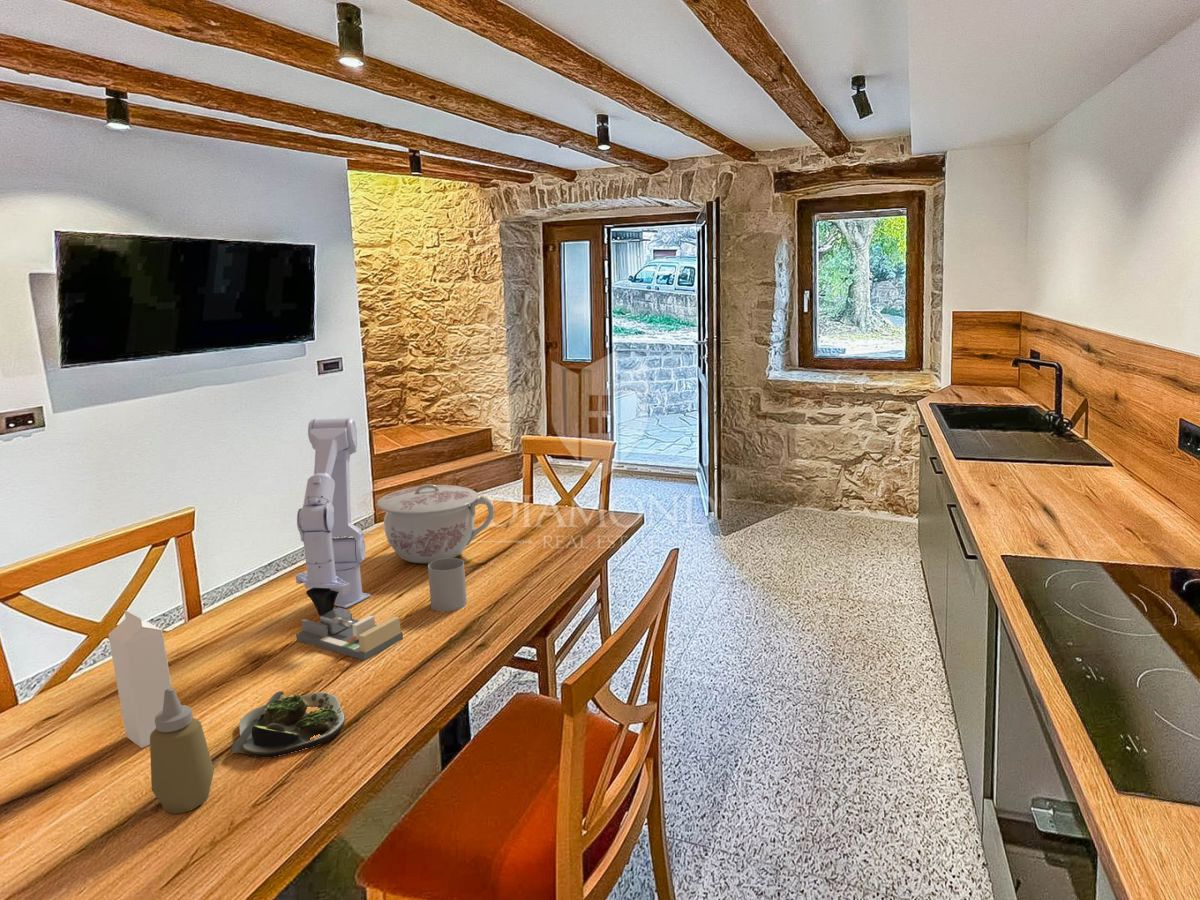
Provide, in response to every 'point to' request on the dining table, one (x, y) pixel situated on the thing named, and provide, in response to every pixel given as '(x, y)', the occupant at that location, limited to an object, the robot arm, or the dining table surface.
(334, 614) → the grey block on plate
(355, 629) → the cream thin slab
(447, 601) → the cup
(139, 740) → the milk
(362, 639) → the gauge base
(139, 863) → the dining table surface
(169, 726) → the squeeze bottle
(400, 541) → the chamber pot
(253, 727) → the salad plate
